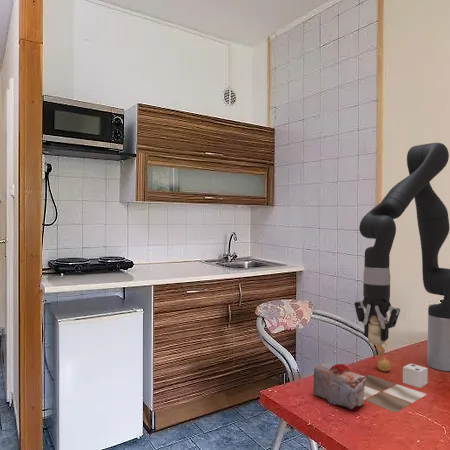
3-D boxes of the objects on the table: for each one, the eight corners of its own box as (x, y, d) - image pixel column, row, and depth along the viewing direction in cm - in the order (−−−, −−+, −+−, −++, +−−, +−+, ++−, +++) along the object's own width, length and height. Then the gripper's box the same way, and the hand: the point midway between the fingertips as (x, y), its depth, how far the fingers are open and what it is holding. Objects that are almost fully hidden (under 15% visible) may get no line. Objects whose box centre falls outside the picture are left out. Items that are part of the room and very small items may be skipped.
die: (410, 379, 122) (410, 363, 122) (427, 384, 118) (427, 367, 118) (402, 383, 119) (403, 366, 119) (419, 389, 115) (419, 371, 115)
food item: (369, 405, 104) (370, 368, 104) (353, 415, 99) (354, 375, 99) (325, 388, 114) (326, 354, 114) (308, 396, 109) (309, 361, 109)
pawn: (373, 339, 121) (373, 312, 121) (386, 342, 118) (387, 314, 118) (365, 341, 119) (365, 314, 119) (379, 345, 115) (379, 316, 115)
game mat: (369, 375, 124) (369, 374, 124) (427, 394, 111) (427, 394, 111) (336, 389, 113) (336, 389, 113) (395, 413, 100) (395, 412, 100)
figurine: (383, 376, 124) (384, 338, 124) (365, 370, 129) (366, 333, 129) (395, 369, 130) (396, 333, 130) (378, 364, 134) (379, 329, 134)
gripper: (406, 283, 115) (405, 342, 115) (362, 278, 126) (361, 331, 126) (393, 286, 110) (392, 347, 111) (348, 280, 121) (348, 335, 122)
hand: (376, 338), depth 118 cm, fingers closed on pawn, 4 cm apart
